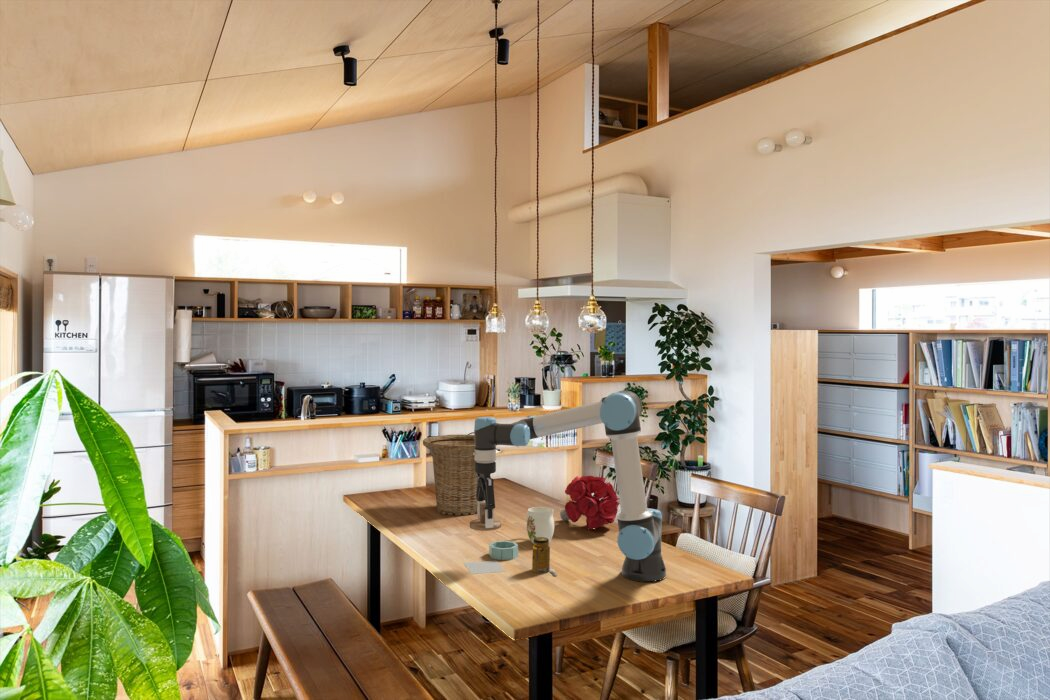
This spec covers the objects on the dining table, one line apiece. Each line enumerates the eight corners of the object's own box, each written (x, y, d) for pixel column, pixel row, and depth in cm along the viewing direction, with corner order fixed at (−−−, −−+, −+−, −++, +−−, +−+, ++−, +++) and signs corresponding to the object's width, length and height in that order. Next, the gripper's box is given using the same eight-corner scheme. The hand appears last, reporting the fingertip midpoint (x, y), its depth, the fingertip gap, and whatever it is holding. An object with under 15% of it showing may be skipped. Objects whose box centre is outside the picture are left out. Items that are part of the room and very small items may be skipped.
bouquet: (553, 543, 313) (600, 520, 294) (538, 490, 322) (582, 465, 303) (588, 537, 327) (635, 515, 308) (572, 487, 336) (617, 463, 317)
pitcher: (538, 534, 301) (538, 501, 301) (563, 545, 286) (563, 511, 286) (515, 538, 296) (516, 504, 295) (539, 549, 280) (540, 514, 280)
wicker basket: (469, 523, 318) (470, 447, 317) (406, 513, 335) (407, 441, 334) (511, 507, 348) (511, 438, 347) (451, 498, 366) (451, 432, 365)
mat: (505, 573, 253) (505, 571, 253) (471, 576, 249) (471, 574, 249) (496, 562, 264) (496, 560, 264) (463, 565, 261) (464, 563, 261)
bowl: (520, 561, 267) (520, 547, 267) (493, 563, 264) (493, 549, 264) (512, 553, 276) (512, 540, 276) (487, 555, 273) (487, 542, 273)
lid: (504, 529, 253) (504, 506, 252) (473, 531, 249) (473, 508, 249) (496, 521, 263) (496, 499, 263) (466, 523, 260) (466, 501, 260)
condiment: (530, 570, 257) (530, 536, 257) (554, 569, 258) (554, 535, 257) (532, 576, 250) (532, 542, 249) (557, 576, 250) (557, 541, 250)
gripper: (467, 456, 266) (467, 516, 266) (482, 467, 244) (482, 532, 244) (487, 455, 268) (487, 514, 269) (504, 466, 246) (504, 531, 246)
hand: (485, 523), depth 256 cm, fingers closed on lid, 11 cm apart
